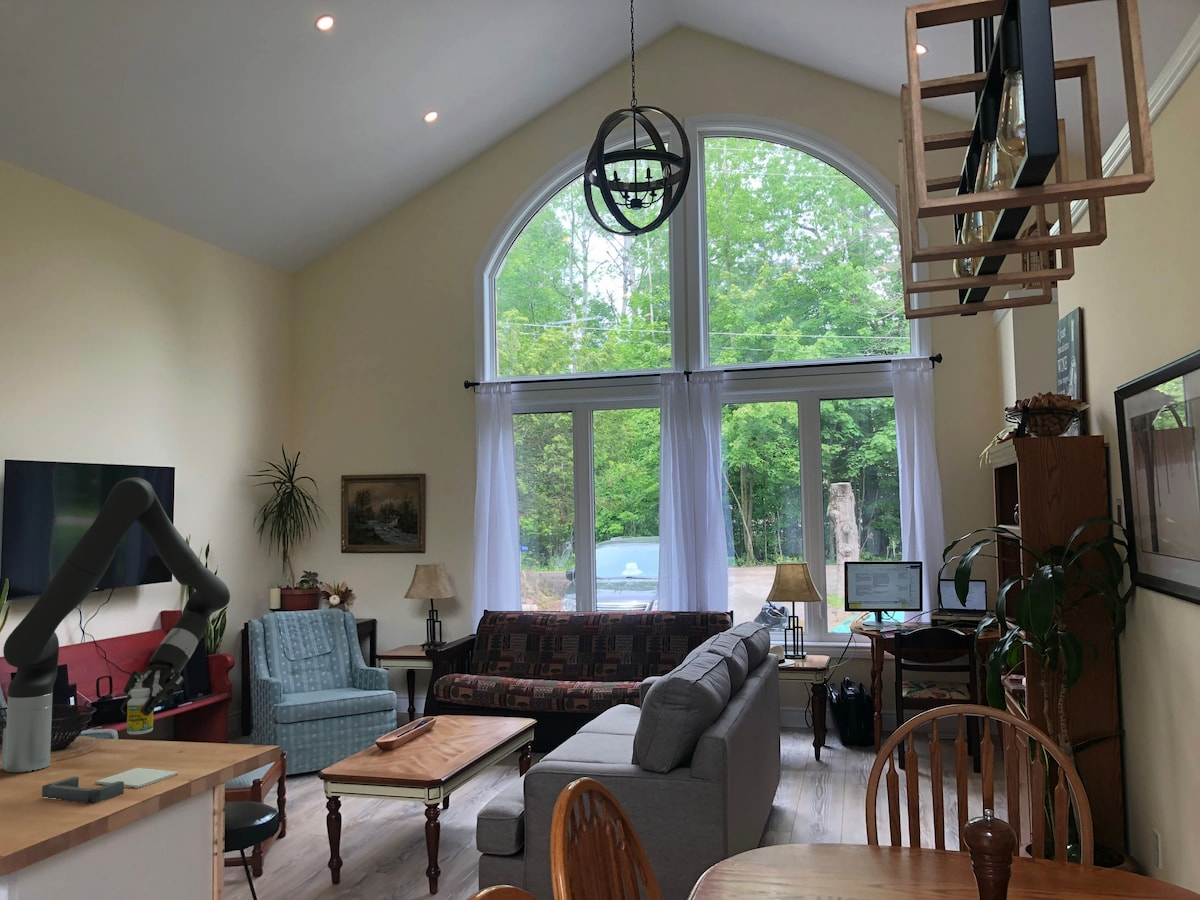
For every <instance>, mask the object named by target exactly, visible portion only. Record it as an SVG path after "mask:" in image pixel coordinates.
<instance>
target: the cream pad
mask: <svg viewBox="0 0 1200 900" xmlns="http://www.w3.org/2000/svg"><path fill="white" fill-rule="evenodd" d="M178 773H179V774H180V772H179V771H173V770H163V769H154V768H153V769H152V768H144V767H135V768H133V769H130V770H129V769H128V770H126V771H123V772H120V773H117V774H114V775H111V776H108V777H105V778H101V779H99V780H98V779H97V780H95V781H94V784H95V785H99V784H102V785H101V786H105V785H108V784H111V783H114V782H117V781H122V782H124V786H125V787H124V788H128V787H134V788H133V789H137V788H138V789H140V788H139V787H141V788H143V787H142V786H144V787H146V786H145V785H147V786H149V784H150V785H153V784H154V783H155V782H156V783H158V782H161V781H163V780H167V779H169V778H168V777H170V778H172V777H171V776H173V775H175V774H178ZM173 777H174V776H173ZM166 778H167V779H166ZM152 783H153V784H152Z"/></svg>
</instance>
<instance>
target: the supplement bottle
mask: <svg viewBox="0 0 1200 900" xmlns="http://www.w3.org/2000/svg"><path fill="white" fill-rule="evenodd" d="M130 690H131V689H130ZM130 695H131V697H132V699H130V700H129V701H128V703H127V714H126V733H127V734H128V735H143V734H147V733H151V732H152V731H153V730H154V710H153V711H152V712H151V713H150V714H149V715H148V716H146V715H144V714H143V713H142V712H141V709H142V708H143V706H144V705H145V703H146V702H147V700H148V699H149V697H150V696H151V690H150V688H146V687H143V688H138V689H133V690H131V694H130Z"/></svg>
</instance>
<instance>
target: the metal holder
mask: <svg viewBox="0 0 1200 900" xmlns="http://www.w3.org/2000/svg"><path fill="white" fill-rule="evenodd" d="M79 779H80V777H79V776H70V777H67V778H64V779H61V780H58V781H54V782H51V783H48V784H45V785H42V786H41V798H42V797H48V798H56V799H61V800H60V801H62V800H67V801H66V802H71V801H77V802H76V803H80V802H84V803H83V804H88V803H92V804H91V805H94V803H95V804H97V802H98V803H100V801H101V802H103V801H102V800H104V801H106V799H107V800H110V799H112V798H115V797H118V796H120V794H121V795H123V793H125V792H124V789H125V787H124V782H122V781H117V782H114V783H111V784H108V785H101V786H100V787H96V788H89V787H88V788H86V787H79V784H80V783H79V781H80V780H79ZM117 795H118V796H117ZM114 796H115V797H114ZM111 797H112V798H111ZM109 798H110V799H109Z"/></svg>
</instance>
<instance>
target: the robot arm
mask: <svg viewBox="0 0 1200 900" xmlns="http://www.w3.org/2000/svg"><path fill="white" fill-rule="evenodd" d="M135 522H137V523H138V525H140V526H141V528H142V529H143V530H144V531H145V533H146V534H147V536H148V537H149V539H150V540H151V543H153V545H154V547H155V550H156V553H158V556H159V558H160V559H161V561H162V562H163V564H164V565H165V566H166V568H167V570H168V571H169V572H170V573H171V574H172V576H173V577H174V579H176V581H177V582H178V583H179V584H180V585H181V586H190V587H191V588H193V589H194V592H193V593H192V594H191V595H190V596H189V598H188V599H187V601H186V603H185V606H184V608H183V609H182V612H181V615H180V617H179V618H178V619H177V621H176V623H175V625H173V627H172V628H171V630H169V632H168V633H167V634H166V635H165V637H163V639H162V641H161V642H160V644H159V645H158V647H157V649H156V650H155V651H154V653H153V654H152V656H151V657H150V659H149V665H148V667H147V668H145V669H144V670H143V672H138V671H137V670H133V671H132V672H131V675H130V676H129V678H128V680H127V682H126V684H125V686H124V688H123V693H124V694H125V695H126V696H127V697H126V698H125V700H124V701H123V703H122V704H121V705H120V708H119V709H120V712H122V713H123V714H124V715H127V703H128V701H129V700H130V699H132V697H131V695H130V694H131V690H133V689H138V688H150V691H152V693H151V696H149V699H148V700H147V702H146V703H145V705H144V706H143V708H142V709H141V712H142V713H143V714H144V715H146V716H148V715H149V714H150V713H151V712H152V711H153V712H154V710H155V708H156V707H157V705H158V704H159V703H161V702H162V701H163V700H164V701H168V700H170V698H172V696H173V695H174V694H175V693H176V691H177V690H178V689H179V688H180V687H181V685H183V683H184V682H185V679H184V677H183V676H182V675H181V673H182V671H183V669H184V668H185V666H186V665H187V664H188V662H189V660H190V659H191V657H192V655H193V654H194V652H195V650H196V648H197V647H198V644H199V643H200V641H201V639H202V638H203V636H204V635H205V633H207V629H208V628H209V622H208V620H209V618H210V617H211V616H212V615H213V613H215V612H217V611H220V610H222V609H225V607H227V605H228V604H229V603H230V599H231V593H230V590H229V588H228V586H227V585H226V583H225V582H224V581H223V580H222V579H221V578H219V577H218V576H217V575H216V574H215V573H214V572H213V571H211V570H210V569H209V568H208V567H206V566H205V565H204V564H203V562H202V561H201V559H200V558H199V557H198V556H197V554H196V553H195V552H194V550H193V549H192V548H191V547H190V545H189V544H188V543H187V541H186V540H185V538H183V536H182V535H181V534H180V532H179V531H178V530H177V528H176V527H175V526H174V524H173V523H172V520H170V518H169V517H168V515H167V513H166V511H165V510H164V508H163V506H162V504H161V502H160V499H159V498H158V496H157V494H156V492H155V490H154V488H153V486H152V484H151V483H150V482H149V481H147V480H145V479H144V478H141V477H134V476H133V477H128V478H125V479H122V480H120V481H118V482H117V483H116V484H115V485H114V486H113V487H112V488H111V489H110V491H109V494H108V496H107V497H106V500H105V502H104V503H103V505H102V507H101V509H100V511H99V512H98V514H97V516H96V518H95V519H94V521H93V523H92V524H91V525H90V527H89V528H88V529H87V530H86V531H85V532H84V533H83V535H82V536H81V537H80V538H79V540H78V541H77V542H76V544H75V545H74V546H73V547H72V549H71V550H70V551H69V552H68V553H67V555H66V557H65V558H64V559H63V561H62V563H61V564H60V565H59V567H58V569H57V570H56V571H55V573H54V575H53V576H52V578H51V579H50V581H49V582H48V584H47V585H46V587H45V588H44V589H43V591H42V593H41V594H40V595H39V598H38V599H37V600H36V602H35V604H33V606H32V608H31V609H30V610H29V612H28V613H27V614H26V615H25V616H24V617H23V618H22V620H21V621H20V622H19V623H18V624H17V626H16V627H15V628H14V629H13V630H12V632H11V633H10V634H9V635H8V637H7V638H6V640H5V642H4V644H3V645H4V646H3V648H2V650H3V651H2V652H3V653H2V654H3V658H4V659H5V661H6V662H7V664H8V665H9V666H11V667H14V668H16V673H15V675H14V677H13V678H12V680H11V682H9V684H8V687H7V702H6V705H7V707H6V708H7V709H6V726H5V727H4V728H3V730H2V749H1V768H2V769H1V770H4V772H7V773H26V771H27V772H32V770H34V771H39V770H42V768H43V769H45V768H47V767H49V766H50V765H51V749H52V748H51V747H52V746H51V745H52V717H53V713H52V712H53V694H54V693H53V692H54V691H53V690H54V684H55V681H56V679H57V676H58V668H59V655H60V643H59V637H58V635H57V633H56V632H55V631H56V630H57V628H58V627H59V625H60V624H61V622H63V620H64V619H65V618H66V617H67V616H68V615H70V613H72V612H73V610H75V608H77V607H78V606H79V605H80V604H81V603H82V602H83V601H84V600H86V598H87V597H88V596H89V595H90V594H91V593H92V592H93V591H94V589H95V588H96V586H97V585H98V584H99V582H100V581H101V579H102V577H104V575H105V573H106V571H107V570H108V568H109V566H110V564H111V562H112V560H113V559H114V556H115V554H116V551H117V549H118V547H119V545H120V542H121V541H122V539H123V537H124V536H125V535H126V534H127V532H128V531H129V529H130V528H131V527H132V526H133V524H134V523H135ZM143 686H144V687H143ZM38 769H39V770H38Z"/></svg>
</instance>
